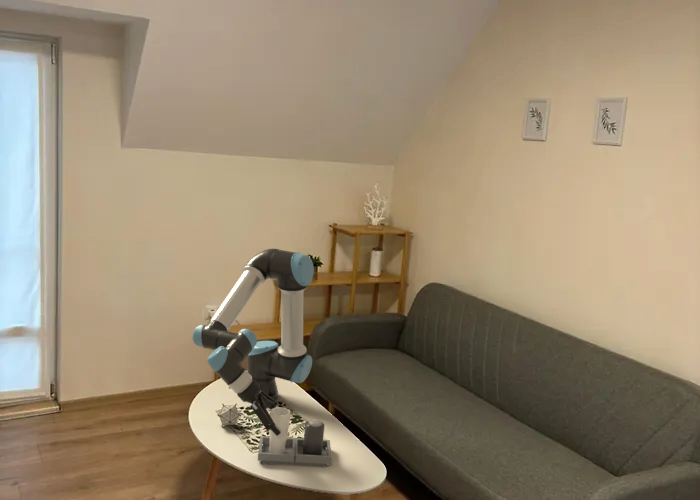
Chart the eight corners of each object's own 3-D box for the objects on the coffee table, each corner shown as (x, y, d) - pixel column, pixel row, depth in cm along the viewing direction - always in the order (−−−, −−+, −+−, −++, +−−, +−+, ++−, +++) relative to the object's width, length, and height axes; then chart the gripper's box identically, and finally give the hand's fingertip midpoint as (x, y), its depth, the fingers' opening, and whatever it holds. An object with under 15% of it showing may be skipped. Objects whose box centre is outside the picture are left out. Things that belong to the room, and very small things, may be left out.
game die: (222, 434, 241) (208, 411, 241) (240, 421, 246) (227, 398, 247) (231, 432, 234) (217, 408, 234) (249, 419, 239) (236, 395, 239)
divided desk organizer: (259, 444, 229) (262, 410, 226) (328, 448, 231) (332, 415, 229) (257, 463, 216) (260, 427, 214) (330, 467, 218) (334, 432, 216)
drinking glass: (283, 458, 219) (287, 417, 216) (264, 454, 220) (267, 413, 217) (289, 449, 225) (292, 409, 223) (270, 445, 227) (274, 405, 224)
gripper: (239, 378, 230) (278, 421, 234) (232, 408, 205) (276, 455, 209) (255, 365, 229) (294, 408, 233) (250, 394, 205) (294, 440, 209)
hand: (285, 430), depth 221 cm, fingers open, 13 cm apart
